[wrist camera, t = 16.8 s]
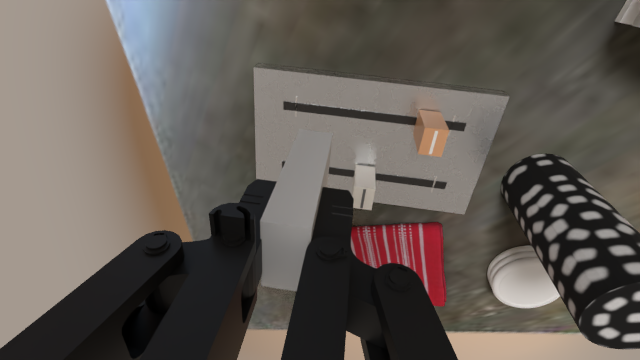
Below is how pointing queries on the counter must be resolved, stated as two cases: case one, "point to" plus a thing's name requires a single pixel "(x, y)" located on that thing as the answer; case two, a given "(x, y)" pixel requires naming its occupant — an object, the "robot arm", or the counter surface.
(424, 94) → the console
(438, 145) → the fader terracotta
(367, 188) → the fader cream
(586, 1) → the counter surface
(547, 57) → the counter surface
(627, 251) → the white-spotted black cylinder
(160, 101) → the counter surface
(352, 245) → the dish towel
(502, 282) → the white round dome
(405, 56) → the counter surface
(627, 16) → the headphone stand
